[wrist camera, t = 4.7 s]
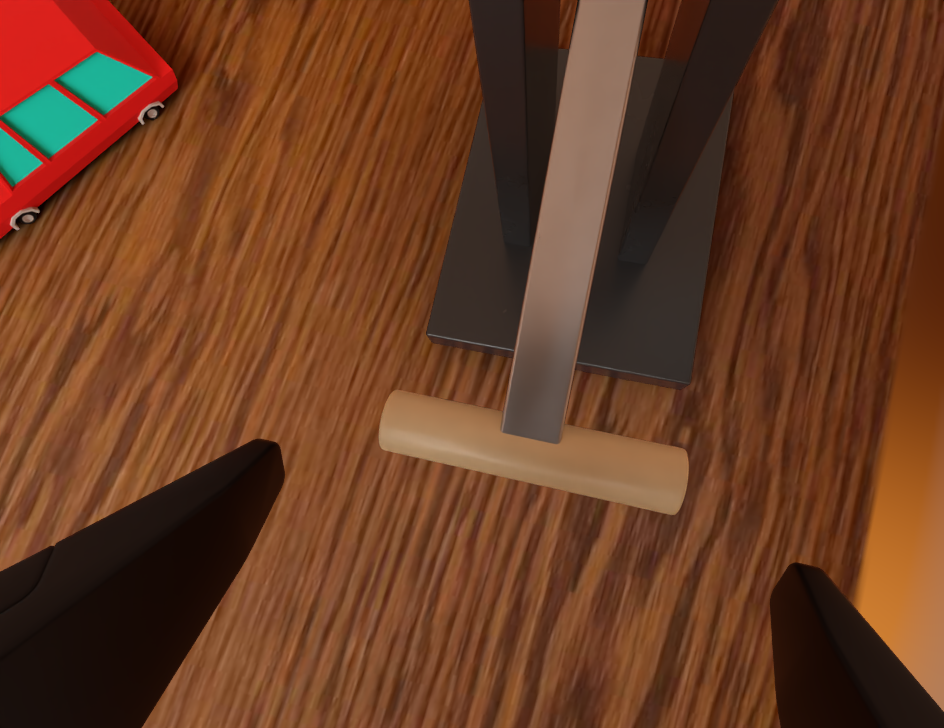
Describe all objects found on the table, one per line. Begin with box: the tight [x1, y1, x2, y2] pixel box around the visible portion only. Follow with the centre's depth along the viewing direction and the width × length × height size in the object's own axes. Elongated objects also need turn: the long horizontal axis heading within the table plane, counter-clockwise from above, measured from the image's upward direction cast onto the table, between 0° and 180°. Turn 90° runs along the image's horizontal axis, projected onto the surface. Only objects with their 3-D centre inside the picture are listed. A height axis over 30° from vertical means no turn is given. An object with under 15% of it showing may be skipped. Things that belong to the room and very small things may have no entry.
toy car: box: [0, 0, 178, 239], centre depth 22 cm, size 6×12×4 cm, turn 132°
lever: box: [379, 0, 689, 515], centre depth 10 cm, size 12×6×2 cm, turn 168°
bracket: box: [426, 0, 779, 390], centre depth 14 cm, size 12×9×14 cm
